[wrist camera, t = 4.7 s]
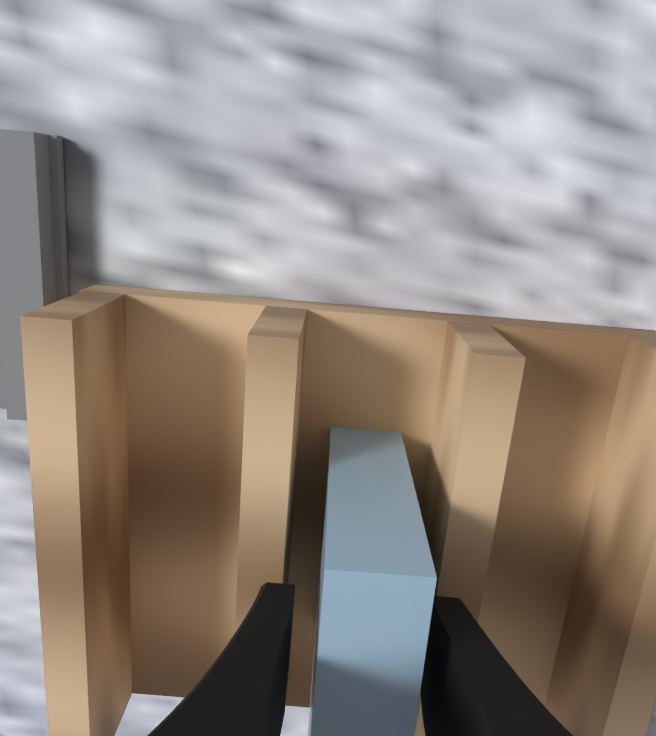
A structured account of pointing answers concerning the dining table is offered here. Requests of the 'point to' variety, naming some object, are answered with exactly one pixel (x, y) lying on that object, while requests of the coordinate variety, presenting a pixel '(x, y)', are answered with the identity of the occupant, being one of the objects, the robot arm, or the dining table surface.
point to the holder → (28, 247)
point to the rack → (308, 485)
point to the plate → (370, 591)
